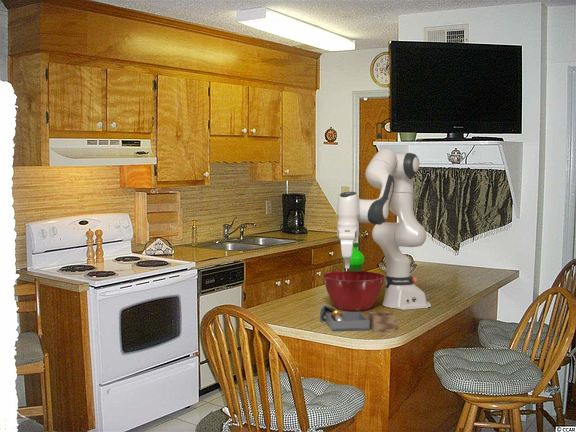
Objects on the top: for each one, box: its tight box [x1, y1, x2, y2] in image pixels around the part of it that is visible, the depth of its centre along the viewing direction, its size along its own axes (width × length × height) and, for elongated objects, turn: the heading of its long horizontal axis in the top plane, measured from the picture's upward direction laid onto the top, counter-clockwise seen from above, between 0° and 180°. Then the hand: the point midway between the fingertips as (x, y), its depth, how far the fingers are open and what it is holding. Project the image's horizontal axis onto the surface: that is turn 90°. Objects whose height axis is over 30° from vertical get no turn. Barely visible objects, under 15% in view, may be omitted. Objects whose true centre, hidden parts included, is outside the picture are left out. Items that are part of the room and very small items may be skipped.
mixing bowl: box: [322, 270, 385, 312], centre depth 290 cm, size 28×28×16 cm
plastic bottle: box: [346, 242, 365, 271], centre depth 332 cm, size 10×10×25 cm
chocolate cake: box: [319, 303, 337, 323], centre depth 269 cm, size 10×7×12 cm
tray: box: [325, 311, 370, 332], centre depth 258 cm, size 15×15×4 cm
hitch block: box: [367, 311, 397, 333], centre depth 253 cm, size 9×9×6 cm
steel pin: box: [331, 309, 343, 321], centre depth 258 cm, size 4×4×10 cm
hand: (347, 266), depth 256 cm, fingers open, 8 cm apart
